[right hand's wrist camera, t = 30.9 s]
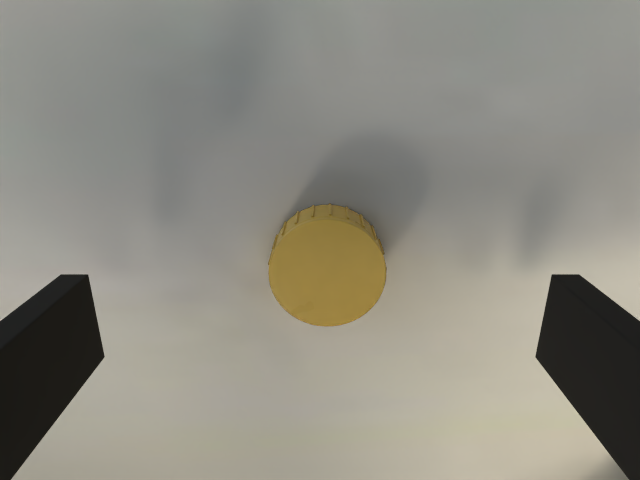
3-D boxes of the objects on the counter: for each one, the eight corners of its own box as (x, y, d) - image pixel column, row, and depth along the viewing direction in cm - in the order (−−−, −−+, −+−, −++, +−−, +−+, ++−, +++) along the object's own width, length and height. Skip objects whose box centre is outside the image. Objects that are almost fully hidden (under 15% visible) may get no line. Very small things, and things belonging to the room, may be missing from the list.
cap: (340, 180, 16) (342, 193, 14) (402, 266, 17) (411, 288, 15) (250, 243, 17) (242, 262, 15) (315, 321, 18) (314, 347, 16)
